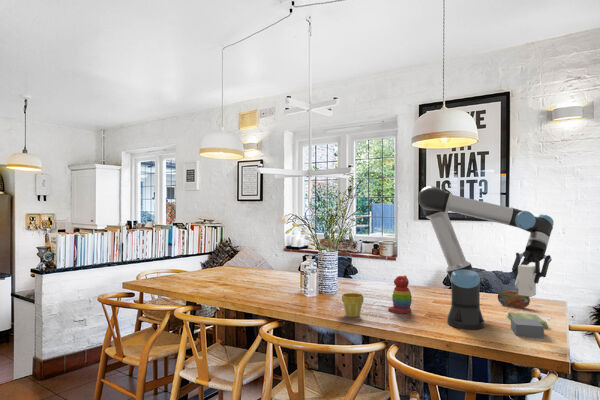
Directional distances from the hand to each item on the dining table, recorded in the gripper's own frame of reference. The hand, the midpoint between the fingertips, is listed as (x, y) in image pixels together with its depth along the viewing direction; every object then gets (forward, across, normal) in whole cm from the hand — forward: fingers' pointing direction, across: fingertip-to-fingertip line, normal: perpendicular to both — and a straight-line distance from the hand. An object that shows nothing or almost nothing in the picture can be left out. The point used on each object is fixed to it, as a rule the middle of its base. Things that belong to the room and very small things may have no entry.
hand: (523, 287), depth 162 cm
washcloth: (-1, +6, -29) cm, 30 cm away
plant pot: (+35, +66, +7) cm, 75 cm away
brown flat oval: (-19, +21, -47) cm, 55 cm away
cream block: (0, 0, -5) cm, 5 cm away
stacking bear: (+18, +55, -10) cm, 58 cm away
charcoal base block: (+11, 0, -16) cm, 20 cm away
